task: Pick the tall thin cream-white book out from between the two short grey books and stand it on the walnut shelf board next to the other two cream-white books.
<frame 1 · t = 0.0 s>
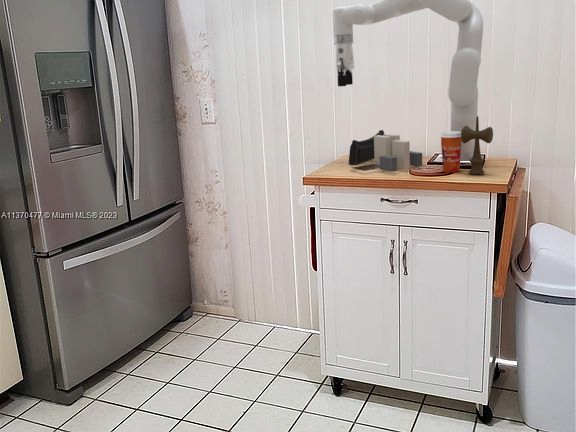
hand: (345, 85, 235), 31 cm above the table, tool pointing down, fingers open, 9 cm apart
white book two: (382, 165, 228), point 1 cm above the table, touching shelf board
grey book 2: (413, 168, 225), on the table
white book: (401, 170, 222), on the table
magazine: (370, 161, 245), on the table
white book one: (392, 163, 231), point 1 cm above the table, touching shelf board
paper cup: (451, 171, 214), on the table
shelf board: (375, 169, 228), on the table
grey book 1: (388, 172, 219), on the table
kendama: (476, 174, 206), on the table
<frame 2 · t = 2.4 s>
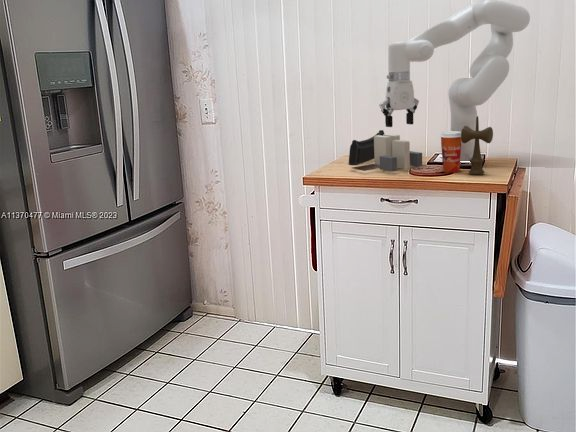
hand: (399, 125, 218), 17 cm above the table, tool pointing down, fingers open, 9 cm apart
nothing on the table moved.
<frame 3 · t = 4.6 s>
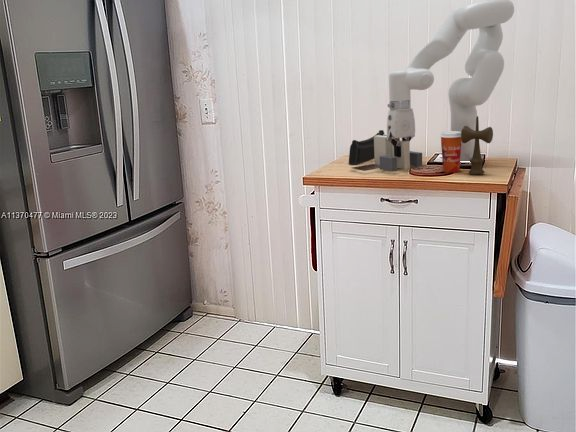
hand: (400, 155, 220), 6 cm above the table, tool pointing down, fingers closed on white book, 2 cm apart
white book: (401, 170, 222), on the table, touching gripper
everything else where it was.
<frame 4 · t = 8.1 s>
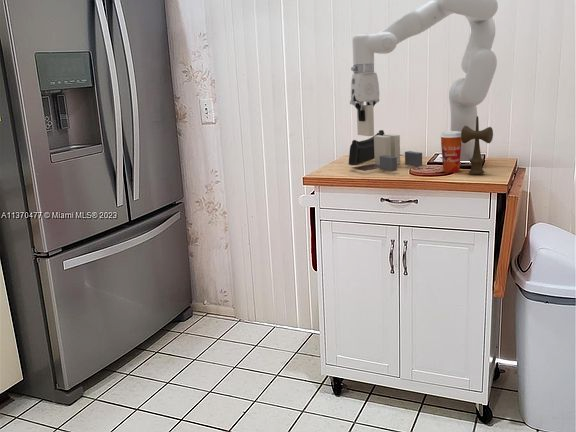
hand: (365, 120, 220), 19 cm above the table, tool pointing down, fingers closed on white book, 2 cm apart
white book: (365, 135, 222), point 14 cm above the table, touching gripper
everything else where it was.
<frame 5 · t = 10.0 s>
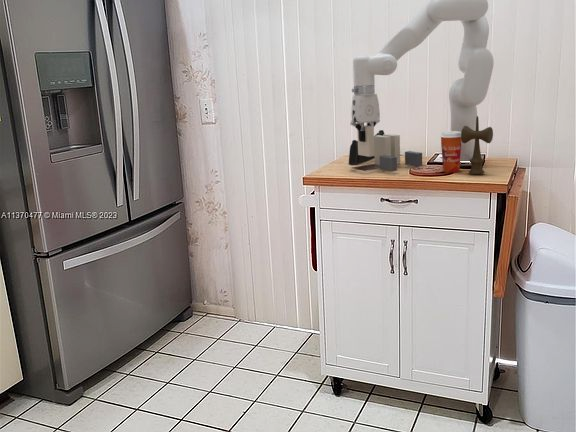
hand: (365, 140, 222), 12 cm above the table, tool pointing down, fingers closed on white book, 2 cm apart
white book: (366, 155, 224), point 6 cm above the table, touching gripper
everything else where it was.
when the fingers open (7 cm above the table, at t = 11.6 s): white book stays where it is, resting on shelf board.
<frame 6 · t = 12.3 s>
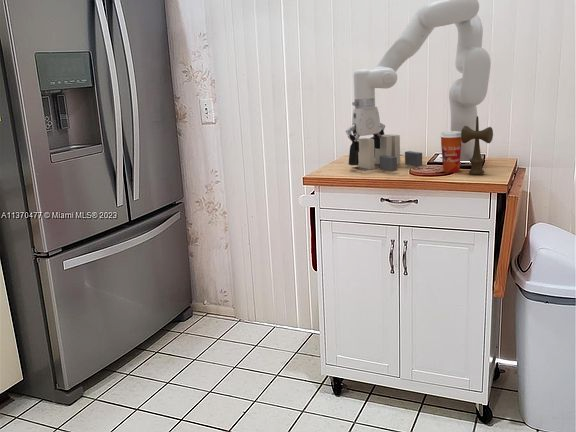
hand: (366, 150, 223), 8 cm above the table, tool pointing down, fingers open, 9 cm apart
white book: (366, 167, 225), point 1 cm above the table, touching shelf board
everything else where it was.
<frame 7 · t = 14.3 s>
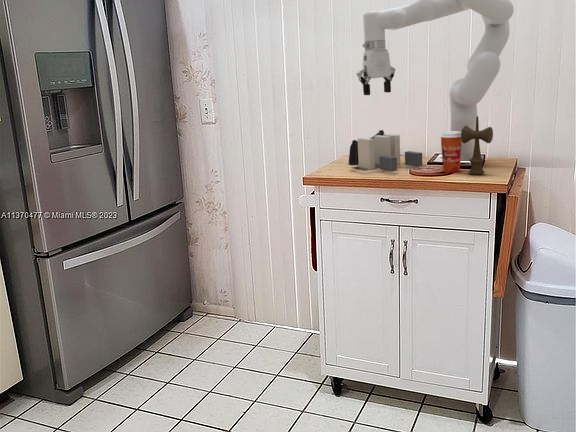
hand: (377, 93, 222), 28 cm above the table, tool pointing down, fingers open, 9 cm apart
nothing on the table moved.
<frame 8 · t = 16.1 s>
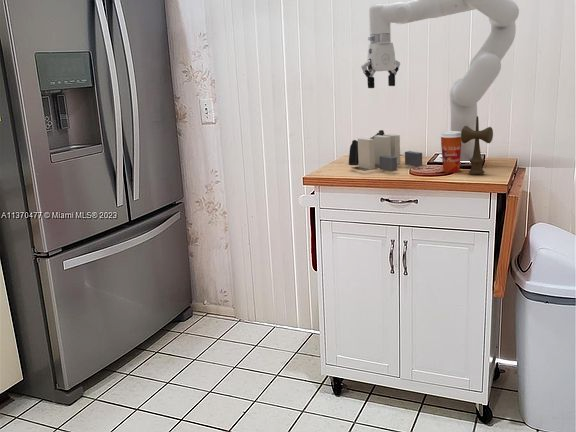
hand: (381, 87, 224), 30 cm above the table, tool pointing down, fingers open, 9 cm apart
nothing on the table moved.
at the end: white book 0.1 cm from the target spot, point 1.2 cm above the table; white book tilted 0° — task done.
